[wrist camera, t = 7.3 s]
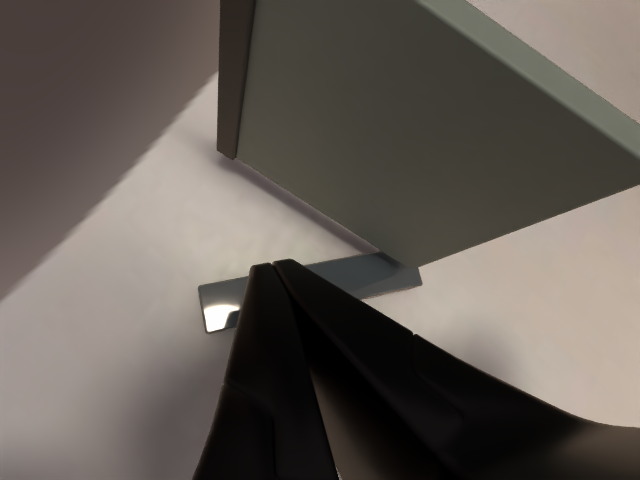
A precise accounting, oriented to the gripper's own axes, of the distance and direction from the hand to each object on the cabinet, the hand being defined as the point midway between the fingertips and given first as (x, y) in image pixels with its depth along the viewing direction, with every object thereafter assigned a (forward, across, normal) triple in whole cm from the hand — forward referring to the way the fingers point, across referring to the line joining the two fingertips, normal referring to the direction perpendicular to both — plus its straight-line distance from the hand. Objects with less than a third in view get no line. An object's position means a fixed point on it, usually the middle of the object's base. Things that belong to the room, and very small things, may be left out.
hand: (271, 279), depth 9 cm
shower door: (+6, -3, +1) cm, 7 cm away
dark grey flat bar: (+5, -2, +4) cm, 7 cm away
